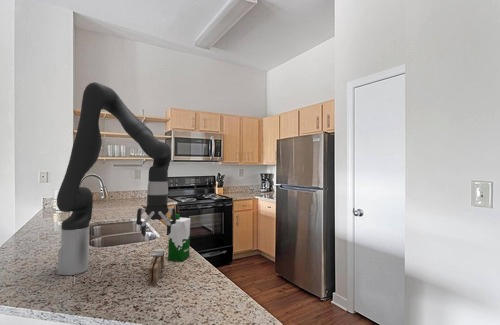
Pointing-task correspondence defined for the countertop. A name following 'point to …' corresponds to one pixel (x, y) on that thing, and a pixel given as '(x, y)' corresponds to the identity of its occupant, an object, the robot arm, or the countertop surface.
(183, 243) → the milk carton
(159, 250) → the tong frame
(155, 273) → the tong arm
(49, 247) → the countertop surface
